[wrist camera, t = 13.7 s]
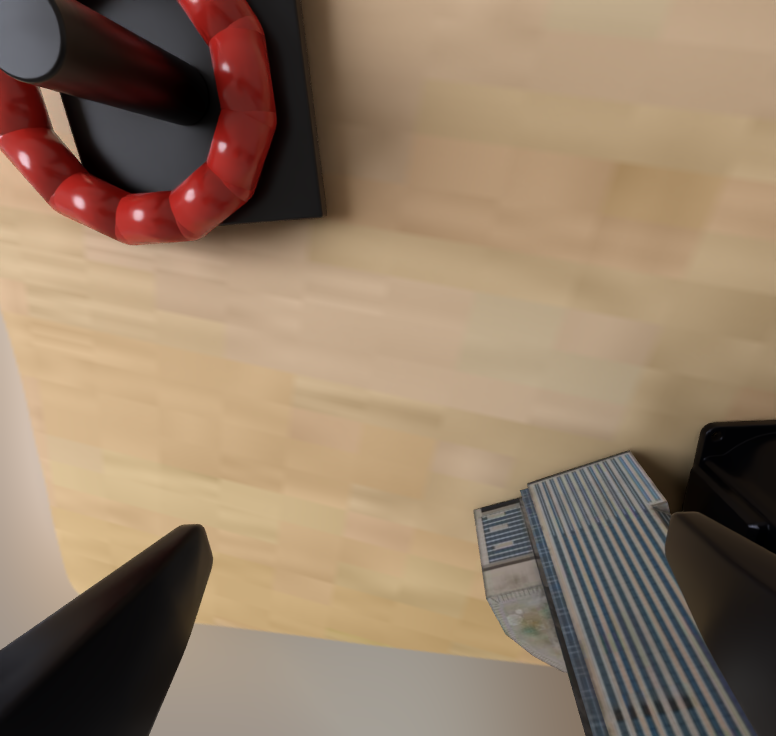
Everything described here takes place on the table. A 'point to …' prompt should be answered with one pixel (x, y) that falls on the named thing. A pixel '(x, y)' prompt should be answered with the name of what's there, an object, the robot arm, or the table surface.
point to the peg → (164, 94)
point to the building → (605, 602)
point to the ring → (199, 190)
